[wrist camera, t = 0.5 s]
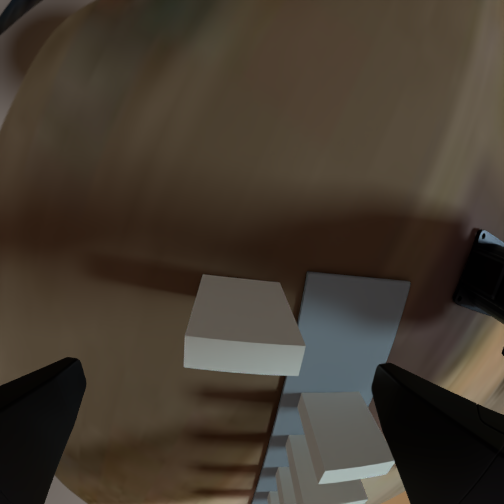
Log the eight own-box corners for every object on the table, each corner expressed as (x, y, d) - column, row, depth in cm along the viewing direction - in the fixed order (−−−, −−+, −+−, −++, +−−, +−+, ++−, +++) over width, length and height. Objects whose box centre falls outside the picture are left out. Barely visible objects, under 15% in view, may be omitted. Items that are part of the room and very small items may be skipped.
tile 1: (301, 392, 22) (325, 470, 14) (359, 391, 23) (396, 460, 15) (297, 407, 22) (318, 484, 15) (353, 405, 23) (386, 474, 15)
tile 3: (278, 467, 24) (289, 533, 17) (326, 464, 25) (345, 525, 17) (275, 475, 25) (285, 539, 17) (322, 473, 25) (339, 532, 18)
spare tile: (202, 274, 20) (184, 335, 12) (279, 282, 20) (305, 346, 12) (200, 297, 20) (183, 367, 12) (276, 304, 21) (298, 376, 13)
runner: (307, 271, 20) (308, 273, 20) (408, 281, 21) (410, 282, 20) (250, 506, 27) (250, 509, 27) (315, 503, 28) (315, 506, 27)
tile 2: (288, 435, 23) (304, 508, 16) (342, 432, 24) (368, 499, 16) (285, 445, 24) (299, 516, 16) (336, 443, 24) (360, 508, 16)
